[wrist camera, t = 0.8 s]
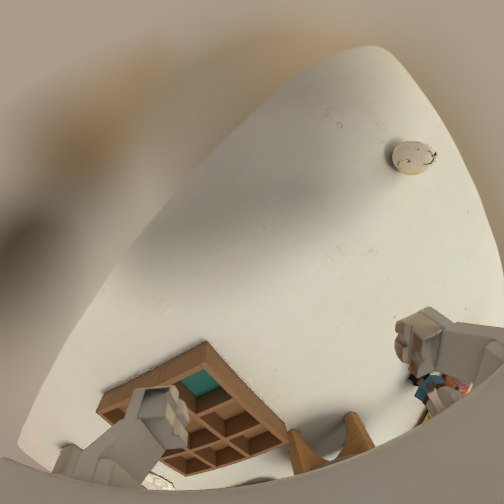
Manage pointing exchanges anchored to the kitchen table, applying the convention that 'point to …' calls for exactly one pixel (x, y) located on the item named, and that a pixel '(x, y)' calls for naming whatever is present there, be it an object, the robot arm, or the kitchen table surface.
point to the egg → (413, 157)
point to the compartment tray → (206, 412)
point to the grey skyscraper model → (67, 461)
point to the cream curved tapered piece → (159, 482)
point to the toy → (435, 393)
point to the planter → (354, 445)
